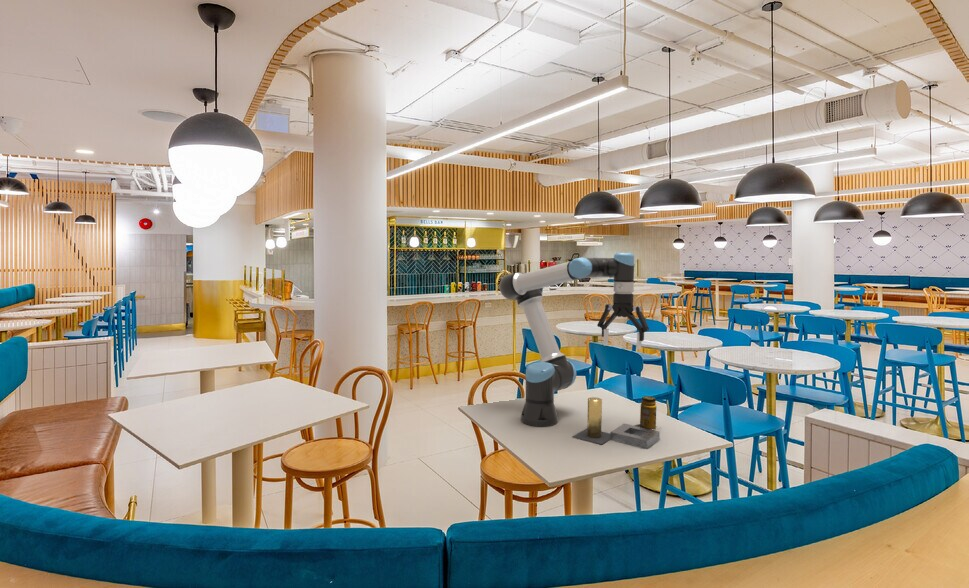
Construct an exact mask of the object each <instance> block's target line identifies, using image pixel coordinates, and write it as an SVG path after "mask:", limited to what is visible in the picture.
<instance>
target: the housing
mask: <svg viewBox="0 0 969 588" xmlns="http://www.w3.org/2000/svg"><path fill="white" fill-rule="evenodd" d="M660 434H661V432H660V431H658V430H650V429H646V428H641V427H637V426H633V425H632V424H628V423H622V424H621V425H619V426H618V427H616V428H614V429H613V430H611V431H610V440H609V441H615V442H618V443H622V444H625V445H630V446H633V447H638V448H640V449H645V450H649V448H650V447H652V446H653V445H654V444H655V443H657V442H658V441H659V440H660Z"/></svg>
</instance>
